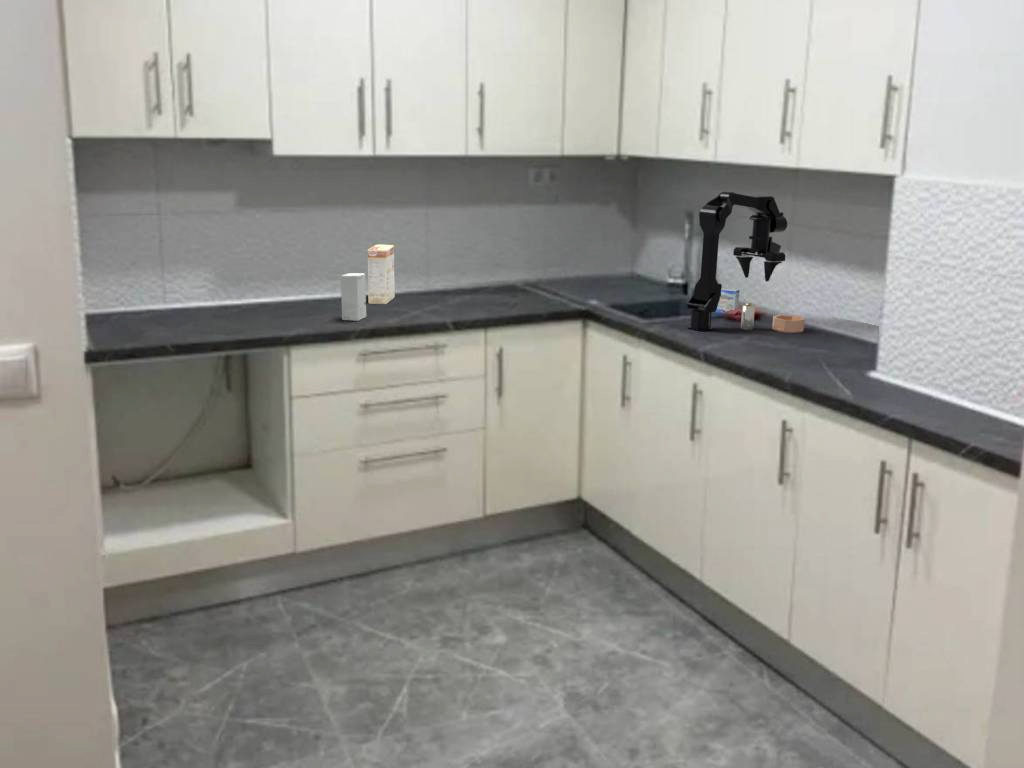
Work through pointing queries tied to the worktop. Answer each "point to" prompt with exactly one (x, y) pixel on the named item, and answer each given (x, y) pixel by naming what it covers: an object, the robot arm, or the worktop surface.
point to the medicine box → (727, 301)
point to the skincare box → (353, 296)
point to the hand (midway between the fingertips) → (756, 279)
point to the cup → (788, 323)
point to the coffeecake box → (381, 274)
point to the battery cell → (747, 316)
